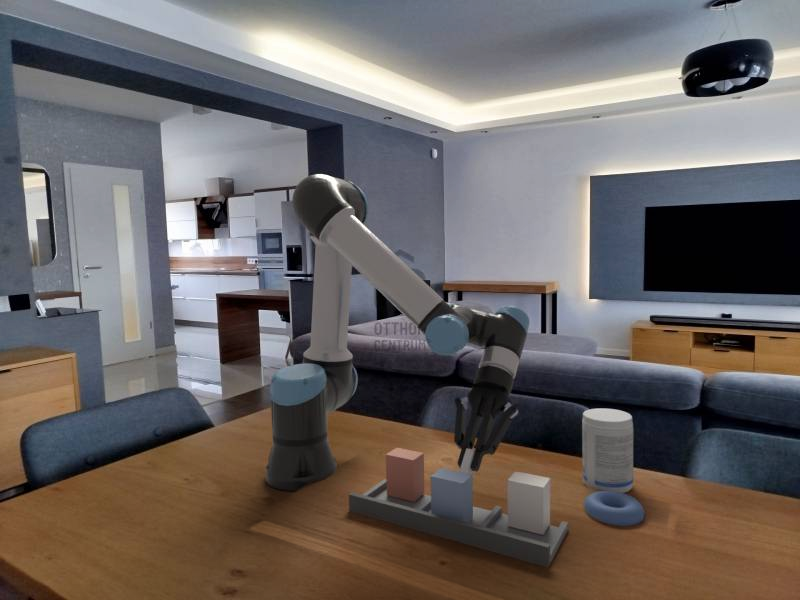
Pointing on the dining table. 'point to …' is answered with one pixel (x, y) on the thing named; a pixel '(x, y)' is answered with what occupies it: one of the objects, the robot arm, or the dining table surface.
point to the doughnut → (614, 508)
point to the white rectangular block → (529, 502)
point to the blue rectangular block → (452, 494)
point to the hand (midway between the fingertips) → (462, 485)
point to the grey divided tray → (462, 525)
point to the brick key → (405, 474)
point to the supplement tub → (607, 449)
